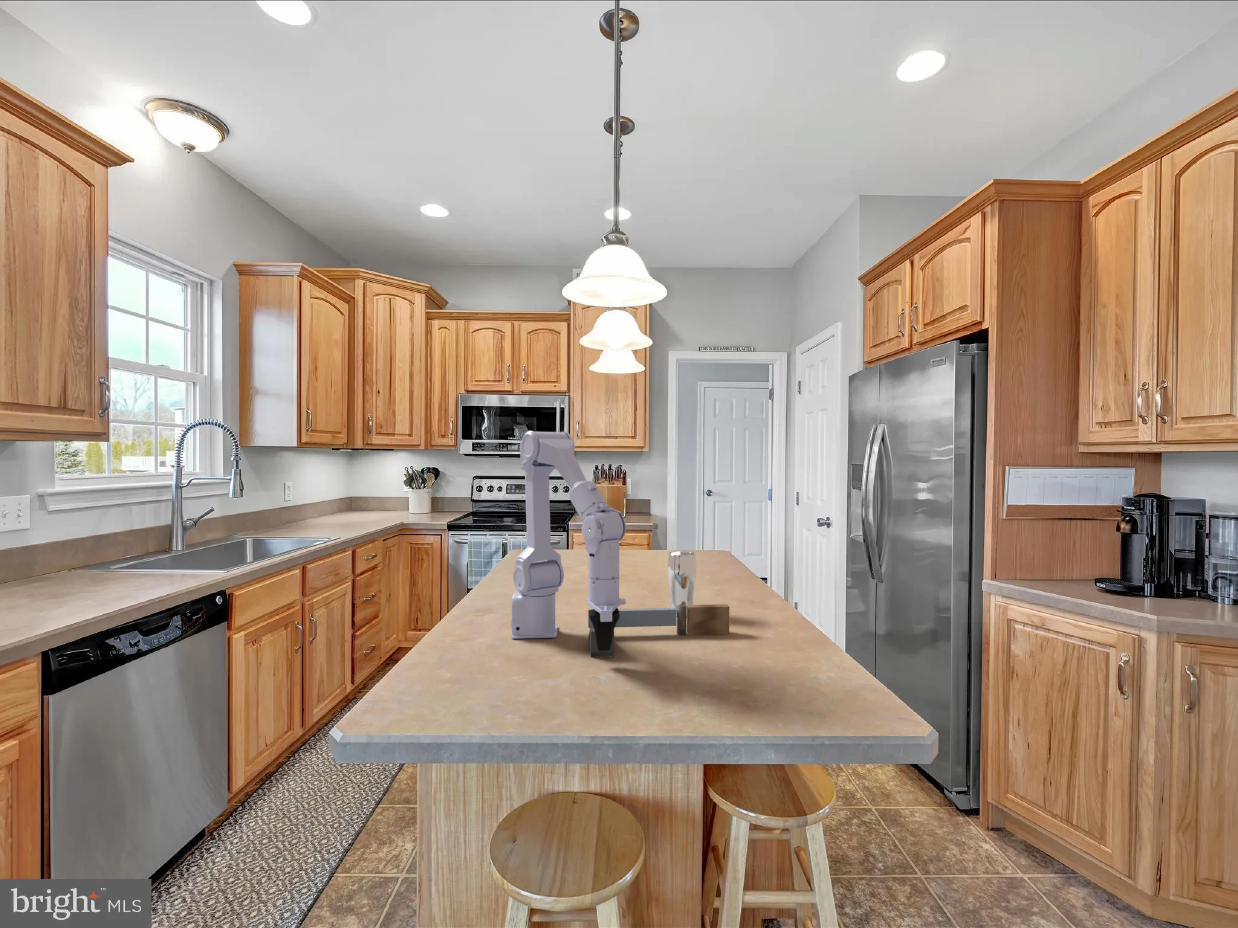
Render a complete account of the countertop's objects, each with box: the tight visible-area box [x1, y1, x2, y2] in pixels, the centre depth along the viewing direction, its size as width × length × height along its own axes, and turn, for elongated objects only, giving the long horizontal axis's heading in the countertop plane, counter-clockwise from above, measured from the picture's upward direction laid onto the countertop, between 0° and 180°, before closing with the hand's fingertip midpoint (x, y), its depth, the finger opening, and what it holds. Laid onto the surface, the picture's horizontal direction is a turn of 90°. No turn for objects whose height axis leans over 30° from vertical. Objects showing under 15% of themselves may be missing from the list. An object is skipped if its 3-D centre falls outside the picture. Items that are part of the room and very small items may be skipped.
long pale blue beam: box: [587, 607, 677, 629], centre depth 124 cm, size 19×2×4 cm, turn 95°
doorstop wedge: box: [588, 627, 615, 658], centre depth 116 cm, size 10×4×5 cm, turn 6°
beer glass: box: [667, 550, 697, 619], centre depth 140 cm, size 7×7×15 cm
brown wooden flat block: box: [676, 603, 730, 636], centre depth 125 cm, size 11×2×6 cm, turn 95°
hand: (603, 649), depth 106 cm, fingers closed
